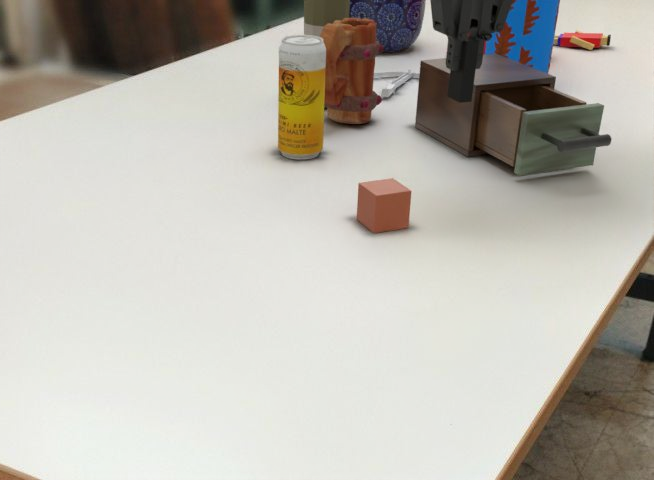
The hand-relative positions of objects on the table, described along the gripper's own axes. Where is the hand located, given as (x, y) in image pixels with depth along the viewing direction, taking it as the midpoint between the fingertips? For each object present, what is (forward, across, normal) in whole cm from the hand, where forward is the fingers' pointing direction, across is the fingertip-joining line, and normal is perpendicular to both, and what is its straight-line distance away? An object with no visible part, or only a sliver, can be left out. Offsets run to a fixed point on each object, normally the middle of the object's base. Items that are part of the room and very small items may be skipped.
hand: (459, 98), depth 104 cm
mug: (+13, -2, -34) cm, 36 cm away
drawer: (+12, -18, -8) cm, 23 cm away
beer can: (+13, +9, -24) cm, 29 cm away
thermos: (+13, -39, -44) cm, 60 cm away
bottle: (+13, -4, -45) cm, 47 cm away
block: (+13, +10, +2) cm, 16 cm away
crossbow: (+13, -20, -50) cm, 55 cm away
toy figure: (+12, -68, -67) cm, 96 cm away
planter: (+13, -30, -78) cm, 85 cm away
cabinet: (+13, -18, -22) cm, 31 cm away
